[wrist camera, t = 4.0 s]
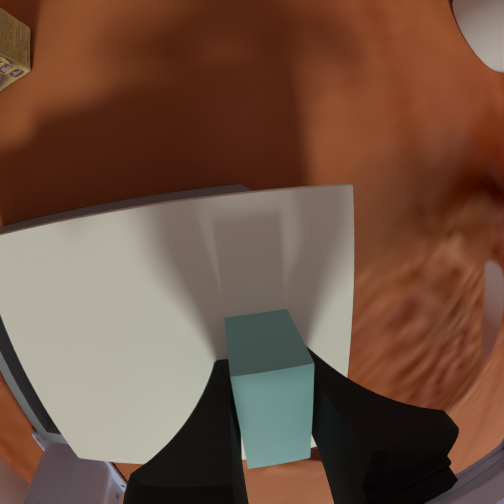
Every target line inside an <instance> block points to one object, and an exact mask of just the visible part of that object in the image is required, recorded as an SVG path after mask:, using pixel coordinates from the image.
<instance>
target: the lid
mask: <svg viewBox="0 0 504 504" xmlns="http://www.w3.org/2000/svg"><path fill="white" fill-rule="evenodd" d="M353 284H354V207H353V185H349V184H331V185H316V186H302V187H290V188H278V189H267V190H257V191H247V192H238V193H229V194H220V195H212V196H204V197H196V198H188V199H181V200H174V201H167V202H160V203H153V204H147V205H140V206H134V207H128V208H122V209H116V210H110V211H105V212H99V213H94V214H88V215H83V216H78V217H73V218H68V219H63V220H58V221H53V222H49V223H44V224H39V225H35V226H30V227H26V228H22V229H17V230H13V231H9V232H5V233H1V234H0V315H1V318H2V321H3V323H4V326H5V328H6V331H7V333H8V336H9V338H10V340H11V343H12V345H13V347H14V350H15V352H16V354H17V356H18V358H19V360H20V363H21V365H22V367H23V369H24V371H25V373H26V375H27V377H28V379H29V381H30V382H31V384H32V386H33V388H34V390H35V392H36V393H37V395H38V397H39V399H40V400H41V402H42V404H43V406H44V407H45V409H46V411H47V412H48V414H49V415H50V417H51V419H52V420H53V422H54V423H55V425H56V426H57V428H58V429H59V431H60V432H61V434H62V435H63V437H64V438H65V440H66V441H67V443H68V444H69V445H70V447H71V448H72V449H73V451H74V452H75V453H76V455H77V456H78V457H79V458H83V459H90V460H99V461H108V462H120V463H135V464H145V463H146V462H148V461H149V460H150V459H152V458H153V457H154V456H155V455H156V454H157V453H158V452H159V451H160V450H161V449H162V448H163V447H164V446H166V445H167V444H168V443H169V441H170V440H171V439H172V438H173V437H174V436H175V435H176V433H177V432H178V431H179V430H180V429H181V427H182V426H183V425H184V423H185V422H186V420H187V419H188V418H189V416H190V415H191V413H192V411H193V410H194V408H195V406H196V404H197V403H198V401H199V399H200V397H201V395H202V393H203V391H204V389H205V387H206V385H207V382H208V380H209V377H210V375H211V372H212V368H213V364H214V362H215V361H216V360H222V359H228V360H229V370H230V379H231V384H232V390H233V395H234V400H235V406H236V411H237V416H238V421H239V426H240V431H241V444H242V460H244V459H246V460H247V465H248V469H249V468H257V467H264V466H270V465H276V464H282V463H287V462H292V461H297V460H302V459H306V458H310V449H311V448H312V447H316V443H315V441H314V439H313V437H312V416H313V393H314V361H313V359H312V357H311V355H310V354H309V352H308V350H307V348H306V346H307V347H308V348H309V349H311V350H312V351H313V352H314V353H315V354H316V355H318V356H319V357H320V358H321V359H322V360H324V361H325V362H326V363H327V364H329V365H330V366H331V367H333V368H334V369H335V370H337V371H338V372H339V373H341V374H342V375H344V376H345V377H347V373H348V363H349V352H350V340H351V326H352V309H353Z"/></svg>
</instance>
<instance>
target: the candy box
mask: <svg viewBox="0 0 504 504" xmlns="http://www.w3.org/2000/svg"><path fill="white" fill-rule="evenodd" d="M30 71H31V64H30V28H29V27H28V26H26V25H25V24H23V23H22V22H20V21H19V20H17V19H16V18H15V17H13V16H12V15H10V14H9V13H7V12H6V11H5V10H3V9H1V8H0V91H1V90H2V89H4V88H5V87H6V86H8V85H9V84H11V83H12V82H14V81H15V80H17V79H18V78H21V77H22V76H24V75H26V74H27V73H29V72H30Z"/></svg>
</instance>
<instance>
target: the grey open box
mask: <svg viewBox="0 0 504 504" xmlns="http://www.w3.org/2000/svg"><path fill="white" fill-rule="evenodd" d="M247 191H252V190H251V189H249V188H248V187H246V186H244V185H242V184H235V185H226V186H217V187H209V188H201V189H193V190H186V191H178V192H171V193H165V194H158V195H151V196H145V197H139V198H133V199H127V200H121V201H116V202H110V203H105V204H99V205H94V206H89V207H84V208H79V209H74V210H69V211H64V212H60V213H55V214H51V215H46V216H42V217H38V218H33V219H29V220H25V221H21V222H17V223H13V224H9V225H5V226H2V227H0V234H1V233H5V232H9V231H13V230H17V229H22V228H26V227H30V226H35V225H39V224H44V223H49V222H53V221H58V220H63V219H68V218H73V217H78V216H83V215H88V214H94V213H99V212H105V211H110V210H116V209H122V208H128V207H134V206H140V205H147V204H153V203H160V202H167V201H174V200H181V199H188V198H196V197H204V196H212V195H220V194H229V193H238V192H247ZM0 371H1V373H2V375H3V377H4V379H5V380H6V382H7V384H8V386H9V388H10V390H11V391H12V393H13V395H14V396H15V398H16V400H17V402H18V403H19V405H20V406H21V408H22V410H23V411H24V413H25V414H26V416H27V417H28V419H29V421H30V422H31V424H32V425H33V426H34V428H35V429H36V431H37V432H38V434H39V435H40V436H41V438H42V439H43V440H47V441H52V442H58V443H64V444H68V443H67V441H66V440H65V438H64V437H63V435H62V434H61V432H60V431H59V429H58V428H57V426H56V425H55V423H54V422H53V420H52V419H51V417H50V415H49V414H48V412H47V411H46V409H45V407H44V406H43V404H42V402H41V400H40V399H39V397H38V395H37V393H36V392H35V390H34V388H33V386H32V384H31V382H30V381H29V379H28V377H27V375H26V373H25V371H24V369H23V367H22V365H21V363H20V360H19V358H18V356H17V354H16V352H15V350H14V347H13V345H12V343H11V340H10V338H9V336H8V333H7V331H6V328H5V326H4V323H3V321H2V318H1V315H0Z"/></svg>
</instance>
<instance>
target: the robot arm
mask: <svg viewBox="0 0 504 504" xmlns="http://www.w3.org/2000/svg"><path fill="white" fill-rule="evenodd" d="M306 348H307V350H308V352H309V354H310V355H311V357H312V359H313V361H314V393H313V416H312V437H313V439H314V441H315V443H316V446H317V448H318V451H319V453H320V456H321V459H322V463H323V466H324V469H325V472H326V476H327V479H328V483H329V486H330V489H331V493H332V497H333V500H334V504H504V440H503V441H502V444H500V445H499V446H498V447H496V448H495V449H494V450H492V451H491V452H490V453H488V454H487V455H485V456H484V457H483V458H481V459H480V460H478V461H477V462H475V463H474V464H472V465H471V466H469V467H468V468H466V469H465V470H463V471H461V472H460V473H458V474H456V475H455V474H454V473H453V472H452V470H451V469H450V467H449V466H450V465H451V461H450V459H449V458H448V457H447V455H448V453H449V452H450V450H451V448H452V447H453V445H454V443H455V441H456V439H457V437H458V433H459V428H458V427H457V425H456V424H455V423H454V422H453V420H452V419H451V418H450V417H449V416H448V415H447V414H446V413H445V412H444V411H443V410H435V409H428V408H422V407H417V406H413V405H409V404H405V403H401V402H398V401H395V400H392V399H389V398H386V397H384V396H381V395H379V394H376V393H374V392H372V391H370V390H368V389H366V388H364V387H362V386H360V385H358V384H356V383H355V382H353V381H352V380H350V379H348V378H347V377H345V376H344V375H342V374H341V373H339V372H338V371H337V370H335V369H334V368H333V367H331V366H330V365H329V364H327V363H326V362H325V361H324V360H322V359H321V358H320V357H319V356H318V355H316V354H315V353H314V352H313V351H312V350H311V349H309V348H308V347H307V346H306ZM32 436H33V437H34V439H35V440H36V441H37V443H38V444H39V445H40V447H41V448H42V449H43V451H44V452H43V455H42V457H41V459H40V462H39V464H38V467H37V469H36V472H35V474H34V477H33V479H32V482H31V484H30V487H29V489H28V492H27V495H26V498H25V500H24V503H23V504H121V502H122V496H123V492H125V494H124V501H123V504H249V503H248V498H247V491H246V485H245V479H244V472H243V465H242V444H241V431H240V426H239V421H238V416H237V411H236V406H235V400H234V395H233V390H232V384H231V379H230V370H229V360H228V359H222V360H216V361H215V362H214V364H213V368H212V372H211V375H210V377H209V380H208V382H207V385H206V387H205V389H204V391H203V393H202V395H201V397H200V399H199V401H198V403H197V404H196V406H195V408H194V410H193V411H192V413H191V415H190V416H189V418H188V419H187V420H186V422H185V423H184V425H183V426H182V427H181V429H180V430H179V431H178V432H177V433H176V435H175V436H174V437H173V438H172V439H171V440H170V441H169V443H168V444H167V445H166V446H164V447H163V448H162V449H161V450H160V451H159V452H158V453H157V454H156V455H155V456H154V457H153V458H152V459H150V460H149V461H148V462H146V463H145V464H144V465H142V466H141V467H140V468H138V469H137V470H136V471H134V472H133V473H131V475H130V478H129V480H128V483H126V481H125V480H124V479H123V477H122V476H121V475H120V474H119V472H118V471H117V470H116V468H115V467H114V465H113V464H112V463H111V462H108V461H99V460H90V459H83V458H79V457H78V456H77V455H76V453H75V452H74V451H73V449H72V448H71V447H70V445H69V444H64V443H58V442H52V441H47V440H43V439H42V438H41V436H40V435H39V434H38V432H37V431H33V432H32Z"/></svg>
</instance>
